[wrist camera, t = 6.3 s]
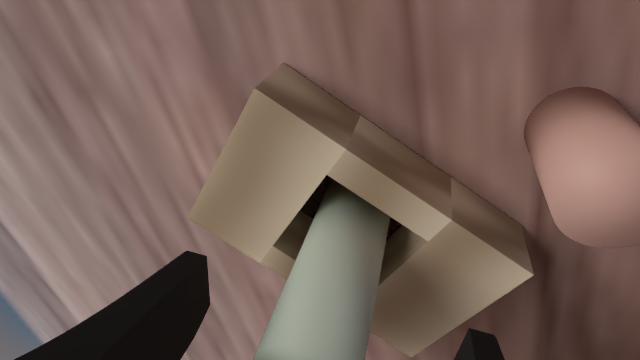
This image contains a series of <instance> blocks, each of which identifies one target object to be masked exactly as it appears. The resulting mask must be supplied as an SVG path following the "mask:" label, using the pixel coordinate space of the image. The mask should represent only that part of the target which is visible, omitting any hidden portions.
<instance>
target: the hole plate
mask: <svg viewBox="0 0 640 360" xmlns="http://www.w3.org/2000/svg"><path fill="white" fill-rule="evenodd" d="M326 175H328V176H329V177H331V178H332V179H334V180H335V181H337V182H338V183H340V184H342V185H343V186H345V187H346V188H348V189H349V190H351V191H352V192H354V193H355V194H357V195H358V196H360V197H361V198H363V199H364V200H366V201H367V202H369V203H370V204H372V205H373V206H375V207H376V208H378V209H379V210H381V211H382V212H384V213H386V214H387V215H389V216H390V217H392V218H393V219H395V220H396V221H398V222H399V223H401V224H402V226H401V227H400V228H398V229H397V230H396V231H395V232H394V233H393V234H392V235H391V236H390V237H389V238H388V239H387V240H386V244H385V250H384V255H383V261H382V266H381V272H380V278H379V283H378V289H377V294H376V300H375V305H374V311H373V316H372V322H371V327H370V332H371V333H373V334H374V335H376V336H378V337H379V338H381V339H382V340H384V341H386V342H387V343H389V344H390V345H392V346H394V347H395V348H397V349H398V350H400V351H402V352H403V353H405V354H406V355H408V356H410V357H412V356H414V355H415V354H417V353H418V352H420V351H421V350H423V349H424V348H426V347H427V346H429V345H430V344H432V343H433V342H435V341H436V340H438V339H439V338H441V337H442V336H444V335H445V334H447V333H448V332H450V331H451V330H453V329H454V328H456V327H457V326H459V325H460V324H462V323H463V322H465V321H466V320H468V319H469V318H471V317H472V316H474V315H475V314H477V313H478V312H480V311H481V310H483V309H484V308H486V307H487V306H489V305H490V304H492V303H493V302H495V301H496V300H498V299H499V298H501V297H502V296H504V295H505V294H507V293H508V292H510V291H511V290H513V289H514V288H516V287H517V286H519V285H520V284H521V283H523V282H524V281H526V280H527V279H529V278H530V277H532V276H533V275H534V273H533V269H532V265H531V261H530V257H529V253H528V249H527V245H526V241H525V237H524V233H523V229H522V225H521V224H519V223H518V222H516V221H515V220H513V219H512V218H510V217H509V216H507V215H506V214H504V213H503V212H501V211H500V210H499V209H497V208H496V207H494V206H493V205H491V204H490V203H488V202H487V201H485V200H484V199H482V198H481V197H479V196H478V195H477V194H475V193H474V192H472V191H471V190H469V189H468V188H466V187H465V186H463V185H462V184H460V183H459V182H457V181H456V180H455V179H453V178H452V177H450V176H449V175H447V174H446V173H444V172H443V171H441V170H440V169H438V168H437V167H435V166H434V165H433V164H431V163H430V162H428V161H427V160H425V159H424V158H422V157H421V156H419V155H418V154H416V153H415V152H413V151H412V150H411V149H409V148H408V147H406V146H405V145H403V144H402V143H400V142H399V141H397V140H396V139H394V138H393V137H391V136H390V135H389V134H387V133H386V132H384V131H383V130H381V129H380V128H378V127H377V126H375V125H374V124H372V123H371V122H369V121H368V120H367V119H365V118H364V117H362V116H361V115H359V114H358V113H356V112H355V111H353V110H352V109H350V108H349V107H347V106H346V105H345V104H343V103H342V102H340V101H339V100H337V99H336V98H334V97H333V96H331V95H330V94H328V93H327V92H325V91H324V90H323V89H321V88H320V87H318V86H317V85H315V84H314V83H312V82H311V81H309V80H308V79H306V78H305V77H304V76H302V75H301V74H299V73H298V72H296V71H295V70H293V69H292V68H290V67H289V66H287V65H286V64H284V63H282V64H281V65H280V66H279V67H278V68H277V69H276V70H274V71H273V72H272V73H271V74H270V75H269V76H268V77H267V78H265V79H264V80H263V81H262V82H261V83H260V84H259V85H258V86H256V87H255V89H254V90H253V92H252V94H251V96H250V98H249V100H248V102H247V104H246V106H245V108H244V110H243V112H242V114H241V115H240V117H239V119H238V121H237V123H236V125H235V127H234V129H233V131H232V133H231V135H230V137H229V139H228V140H227V142H226V144H225V146H224V148H223V150H222V152H221V154H220V156H219V158H218V160H217V162H216V164H215V165H214V167H213V169H212V171H211V173H210V175H209V177H208V179H207V181H206V183H205V185H204V187H203V189H202V190H201V192H200V194H199V196H198V198H197V200H196V202H195V204H194V206H193V208H192V210H191V212H190V214H189V215H188V217H187V218H188V219H190V220H191V221H193V222H195V223H196V224H198V225H200V226H201V227H203V228H204V229H206V230H208V231H209V232H211V233H212V234H214V235H216V236H217V237H219V238H220V239H222V240H224V241H225V242H227V243H228V244H230V245H232V246H233V247H235V248H236V249H238V250H240V251H241V252H243V253H244V254H246V255H248V256H249V257H251V258H252V259H254V260H256V261H257V262H259V263H260V264H262V265H264V266H265V267H267V268H268V269H270V270H272V271H273V272H275V273H276V274H278V275H280V276H281V277H283V278H285V279H286V280H287V279H288V277H289V275H290V272H291V270H292V268H293V265H294V263H295V261H296V259H297V256H298V254H299V252H300V249H301V247H302V245H303V242H304V240H305V238H306V235H307V233H308V231H309V229H310V226H311V224H312V222H313V218H311V217H310V216H308V215H307V214H305V213H304V212H302V211H301V210H300V209H301V208H302V207H303V205H304V204H305V203H306V201H307V200H308V199H309V197H310V196H311V195H312V193H313V192H314V191H315V189H316V188H317V187H318V185H319V184H320V183H321V182H322V180H323V179H324V178H325V176H326Z"/></svg>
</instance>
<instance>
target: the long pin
mask: <svg viewBox="0 0 640 360" xmlns="http://www.w3.org/2000/svg"><path fill="white" fill-rule="evenodd" d="M389 222H390V216H389V215H387V214H386V213H384V212H382V211H381V210H379V209H378V208H376V207H375V206H373V205H372V204H370V203H369V202H367V201H366V200H364V199H363V198H361V197H360V196H358V195H357V194H355V193H354V192H352V191H351V190H349V189H348V188H346V187H345V186H343V185H342V184H340V183H338V182H337V181H335V180H332V181H331V183H330V184H329V185H328V187H327V189H326V192H325V194H324V196H323V199H322V201H321V203H320V205H319V208H318V210H317V212H316V215H315V217H314V219H313V222H312V224H311V226H310V229H309V231H308V233H307V235H306V238H305V240H304V242H303V245H302V247H301V249H300V252H299V254H298V256H297V259H296V261H295V263H294V265H293V268H292V270H291V272H290V275H289V277H288V279H287V282H286V284H285V286H284V289H283V291H282V293H281V295H280V298H279V300H278V302H277V305H276V307H275V309H274V312H273V314H272V316H271V319H270V321H269V323H268V325H267V328H266V330H265V332H264V335H263V337H262V339H261V342H260V344H259V346H258V349H257V351H256V353H255V355H254V358H253V360H365V355H366V350H367V344H368V338H369V333H370V327H371V322H372V316H373V311H374V305H375V300H376V294H377V289H378V283H379V278H380V272H381V266H382V261H383V255H384V250H385V244H386V239H387V233H388V228H389Z"/></svg>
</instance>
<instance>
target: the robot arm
mask: <svg viewBox="0 0 640 360" xmlns="http://www.w3.org/2000/svg"><path fill="white" fill-rule="evenodd" d="M209 306H210V296H209V282H208V268H207V256H204V255H201V254H197V253H193V252H190V251H186V252H184V253H182V254H181V255H180V256H178V257H177V258H175V259H174V260H173V261H171V262H170V263H168V264H167V265H166V266H164V267H163V268H162V269H160V270H159V271H157V272H156V273H155V274H153V275H152V276H150V277H149V278H148V279H146V280H145V281H143V282H142V283H141V284H139V285H138V286H136V287H135V288H133V289H132V290H130V291H129V292H128V293H126V294H125V295H123V296H122V297H120V298H119V299H117V300H116V301H114V302H113V303H111V304H110V305H108V306H107V307H105V308H104V309H102V310H100V311H99V312H97V313H96V314H94V315H92V316H91V317H89V318H88V319H86V320H85V321H83V322H81V323H80V324H78V325H76V326H75V327H73V328H71V329H70V330H68V331H66V332H65V333H63V334H61V335H59V336H58V337H56V338H54V339H52V340H50V341H49V342H47V343H45V344H43V345H41V346H39V347H38V348H36V349H34V350H32V351H30V352H28V353H26V354H24V355H22V356H20V357H18V358H16V359H14V360H180V359H181V358H182V356H183V355H184V353H185V351H186V350H187V348H188V347H189V345H190V343H191V342H192V340H193V339H194V337H195V335H196V333H197V331H198V329H199V327H200V325H201V323H202V321H203V319H204V316H205V314H206V312H207V310H208V308H209ZM454 360H505V359H504V357H503V354H502V351H501V349H500V346H499V344H498V341H497V339H496V337H495V336H494V335H492V334H488V333H485V332H481V331H478V330H474V329H470V328H469V330H468V332H467V334H466V336H465V338H464V340H463V342H462V344H461V346H460V348H459V350H458V352H457V354H456V356H455V359H454Z"/></svg>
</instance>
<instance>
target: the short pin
mask: <svg viewBox="0 0 640 360" xmlns="http://www.w3.org/2000/svg"><path fill="white" fill-rule="evenodd" d="M524 138H525V142H526V145H527V148H528V151H529V154H530V156H531V159H532V162H533V165H534V167H535V170H536V173H537V176H538V178H539V181H540V184H541V187H542V190H543V192H544V195H545V198H546V201H547V203H548V206H549V209H550V212H551V215H552V217H553V220H554V222H555V224H556V225H557V227H558V228H559V229H560V230H561V231H562V233H564V234H565V235H566V236H567V237H569V238H571V239H572V240H574V241H576V242H578V243H581V244H584V245H587V246H592V247H598V248H621V247H628V246H632V245H636V244H640V126H639V125H638V124H637V123H636V122H635V121H634V120H633V118H632V117H631V116H630V115H629V114H628V113H627V112H626V111H625V110H624V109H623V108H622V107H621V106H620V105H619V104H618V103H617V101H616V100H615V99H614V98H612V97H611V96H610V95H609V94H607V93H605V92H603V91H601V90H598V89H595V88H589V87H574V88H569V89H565V90H561V91H559V92H556V93H554V94H552V95H550V96H548V97H547V98H545V99H544V100H543V101H541V102H540V103H539V104H538V105H537V106H536V107H535V108H534V109H533V111H532V112H531V113H530V115H529V117H528V119H527V121H526V124H525V129H524Z"/></svg>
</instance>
